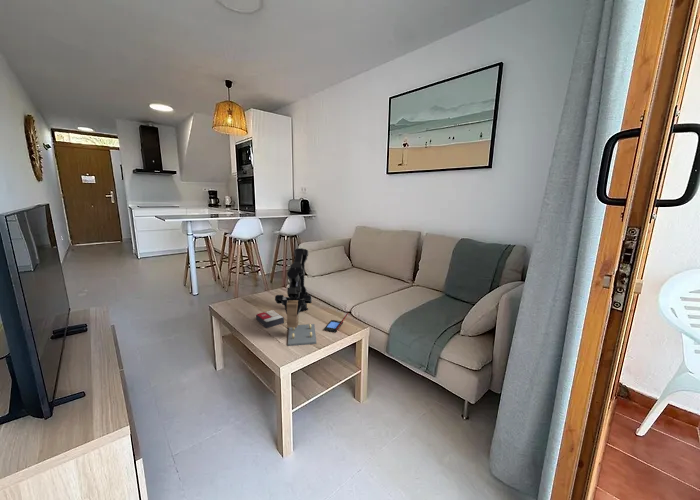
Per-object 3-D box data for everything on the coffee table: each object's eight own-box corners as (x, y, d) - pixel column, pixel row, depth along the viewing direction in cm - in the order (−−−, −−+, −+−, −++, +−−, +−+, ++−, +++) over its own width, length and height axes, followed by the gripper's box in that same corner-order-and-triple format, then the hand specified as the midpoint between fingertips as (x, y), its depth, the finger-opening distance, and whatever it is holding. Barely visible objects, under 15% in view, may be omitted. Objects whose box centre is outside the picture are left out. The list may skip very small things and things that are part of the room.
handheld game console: (331, 321, 171) (331, 309, 169) (348, 324, 167) (348, 312, 166) (322, 331, 159) (322, 318, 157) (341, 334, 156) (341, 321, 154)
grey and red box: (272, 309, 178) (283, 316, 167) (273, 315, 179) (284, 323, 168) (255, 313, 172) (265, 321, 160) (256, 320, 172) (266, 328, 161)
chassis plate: (289, 327, 162) (289, 321, 161) (314, 325, 165) (314, 319, 164) (287, 346, 143) (287, 339, 142) (316, 343, 145) (316, 337, 145)
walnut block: (288, 323, 155) (288, 300, 152) (298, 323, 155) (298, 300, 152) (287, 327, 150) (286, 304, 147) (296, 327, 150) (296, 304, 147)
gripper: (274, 280, 151) (270, 308, 142) (310, 280, 152) (309, 308, 143) (278, 289, 160) (275, 316, 152) (312, 289, 161) (310, 316, 152)
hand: (292, 314), depth 149 cm, fingers closed on walnut block, 5 cm apart
